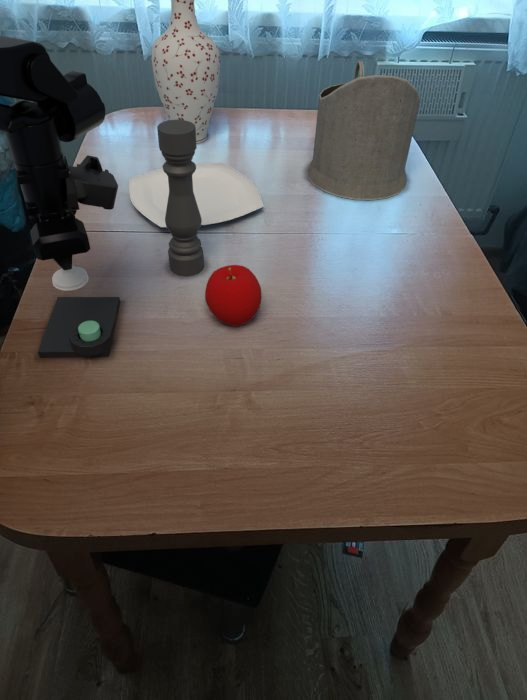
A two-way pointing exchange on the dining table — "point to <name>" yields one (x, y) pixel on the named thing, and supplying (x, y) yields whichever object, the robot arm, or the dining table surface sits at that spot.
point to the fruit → (233, 294)
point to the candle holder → (181, 196)
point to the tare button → (89, 330)
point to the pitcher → (364, 136)
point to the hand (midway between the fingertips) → (66, 265)
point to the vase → (186, 69)
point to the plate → (198, 194)
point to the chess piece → (70, 278)
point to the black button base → (65, 323)
